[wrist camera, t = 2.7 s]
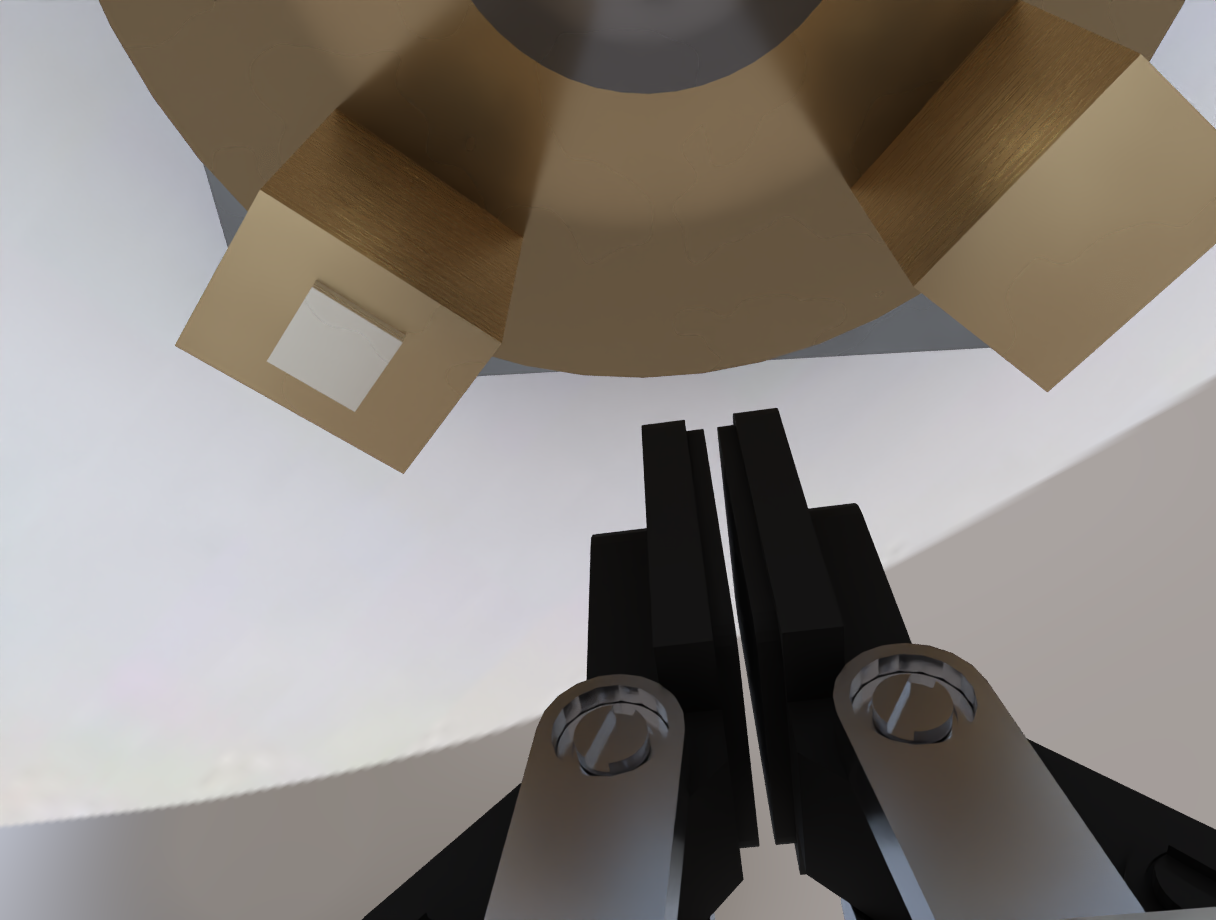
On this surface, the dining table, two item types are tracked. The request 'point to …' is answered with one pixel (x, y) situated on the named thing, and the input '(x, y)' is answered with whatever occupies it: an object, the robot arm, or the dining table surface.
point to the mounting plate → (890, 333)
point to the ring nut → (663, 184)
